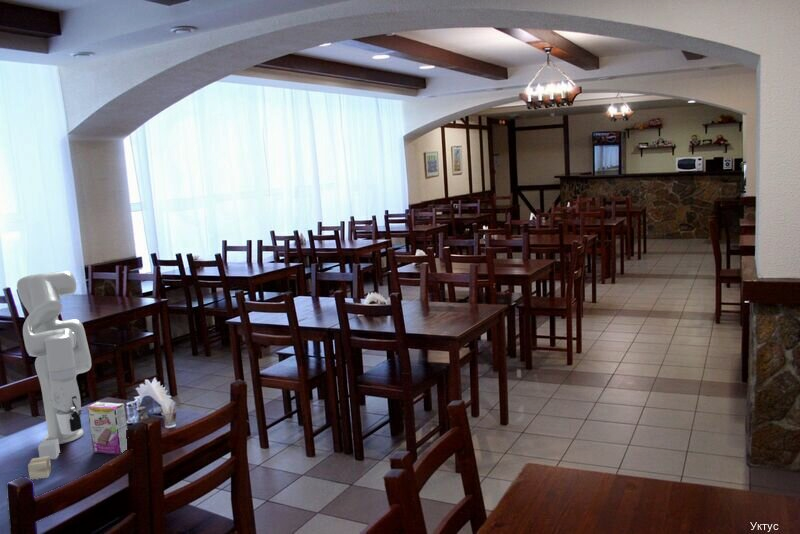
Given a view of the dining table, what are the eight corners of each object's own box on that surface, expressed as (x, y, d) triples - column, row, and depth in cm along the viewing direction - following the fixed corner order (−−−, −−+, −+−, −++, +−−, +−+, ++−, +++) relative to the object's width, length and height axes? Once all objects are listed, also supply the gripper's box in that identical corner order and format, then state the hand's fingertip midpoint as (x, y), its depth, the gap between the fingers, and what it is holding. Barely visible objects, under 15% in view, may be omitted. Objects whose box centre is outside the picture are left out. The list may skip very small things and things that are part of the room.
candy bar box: (92, 453, 222) (86, 406, 219) (102, 446, 227) (96, 401, 224) (121, 455, 219) (114, 408, 216) (130, 449, 224) (125, 402, 221)
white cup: (73, 435, 207) (70, 414, 206) (53, 434, 209) (50, 413, 207) (87, 426, 214) (84, 406, 213) (68, 425, 215) (65, 405, 214)
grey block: (43, 455, 223) (41, 441, 222) (60, 452, 224) (58, 438, 223) (40, 461, 218) (37, 447, 217) (56, 459, 219) (54, 444, 218)
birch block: (34, 473, 209) (32, 458, 209) (51, 470, 211) (49, 455, 210) (30, 480, 205) (27, 465, 204) (47, 477, 206) (45, 462, 205)
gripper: (37, 372, 210) (44, 426, 213) (65, 382, 200) (73, 437, 203) (60, 366, 216) (67, 417, 219) (89, 374, 206) (96, 429, 209)
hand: (70, 427), depth 211 cm, fingers closed on white cup, 6 cm apart
